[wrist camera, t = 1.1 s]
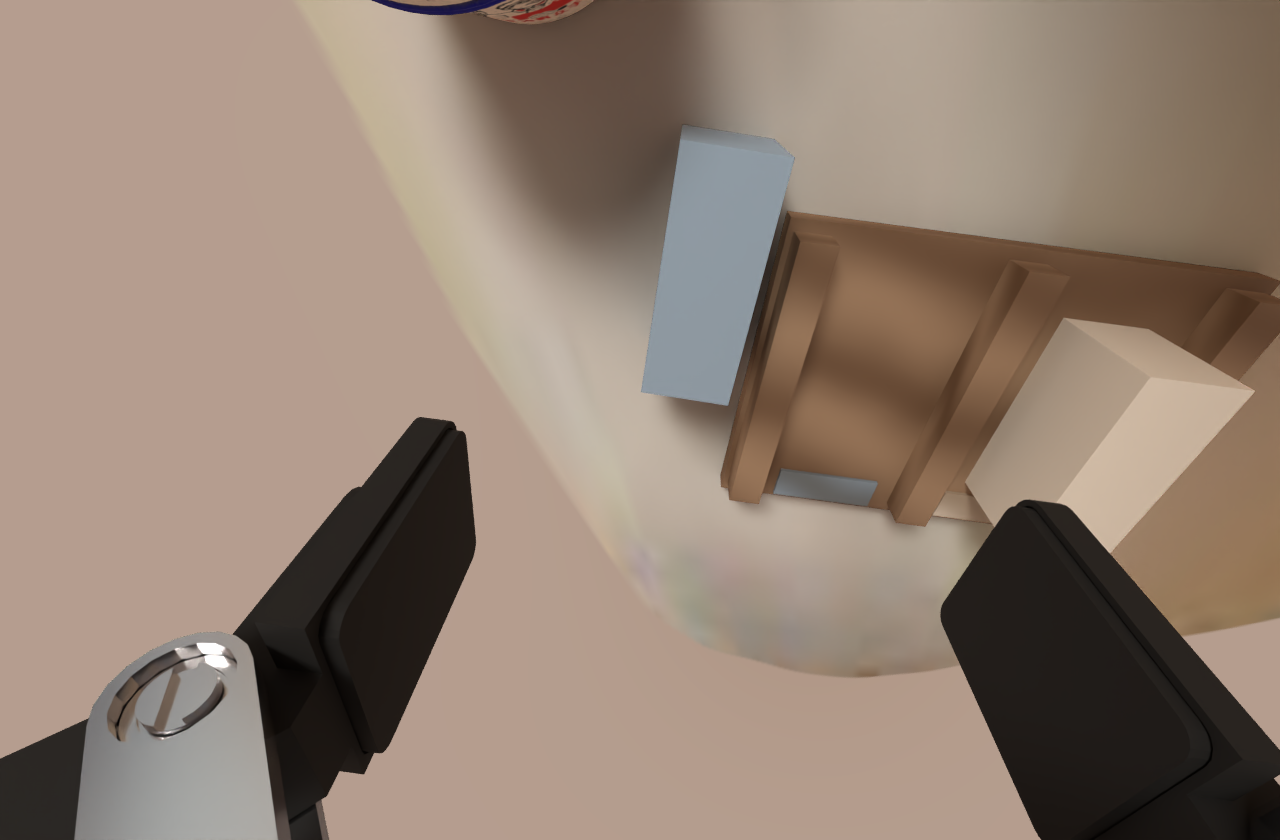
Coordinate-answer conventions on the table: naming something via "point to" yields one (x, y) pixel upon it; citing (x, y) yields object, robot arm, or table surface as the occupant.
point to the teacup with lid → (495, 8)
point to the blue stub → (713, 260)
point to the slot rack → (941, 353)
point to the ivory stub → (1104, 426)
